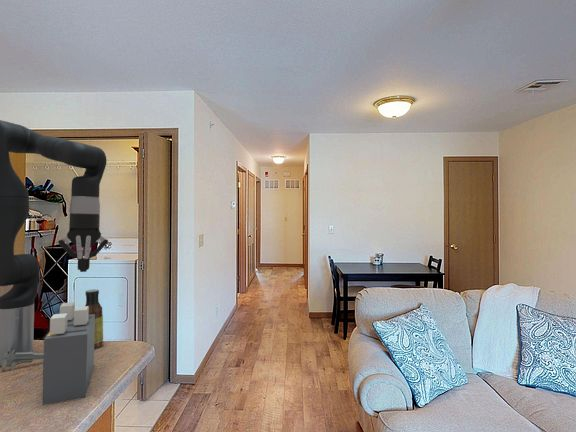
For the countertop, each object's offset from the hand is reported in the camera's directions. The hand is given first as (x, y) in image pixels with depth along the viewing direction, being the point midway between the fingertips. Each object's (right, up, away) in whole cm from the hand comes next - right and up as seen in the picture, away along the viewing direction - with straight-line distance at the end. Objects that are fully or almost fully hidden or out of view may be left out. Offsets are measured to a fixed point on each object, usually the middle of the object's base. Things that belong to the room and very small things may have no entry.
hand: (83, 271), depth 96 cm
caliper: (-16, -30, +6) cm, 34 cm away
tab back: (-4, -13, -2) cm, 14 cm away
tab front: (+2, -13, -13) cm, 18 cm away
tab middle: (+3, -13, -5) cm, 15 cm away
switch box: (+1, -30, -6) cm, 30 cm away
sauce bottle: (-9, -30, +19) cm, 37 cm away
